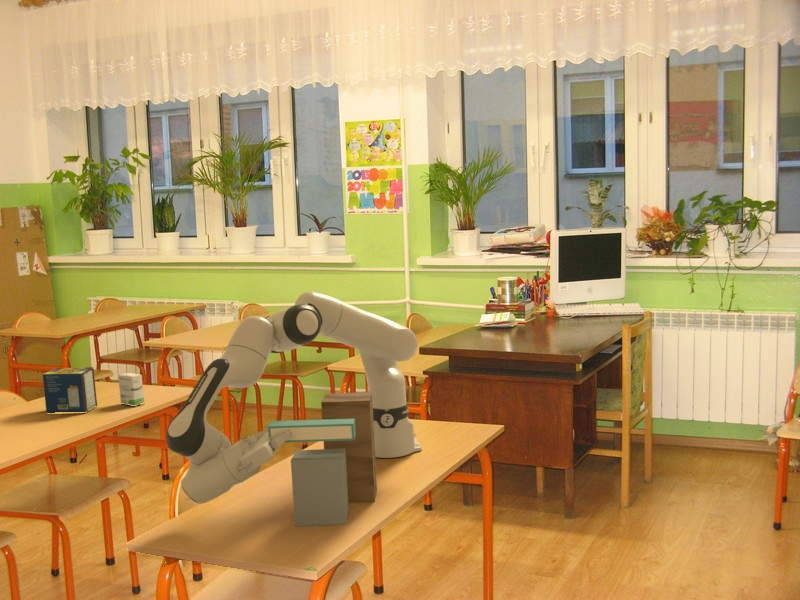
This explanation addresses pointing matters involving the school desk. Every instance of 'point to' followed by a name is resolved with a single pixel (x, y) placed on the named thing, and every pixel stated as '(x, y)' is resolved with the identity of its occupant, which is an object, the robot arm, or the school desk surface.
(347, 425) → the book
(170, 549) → the school desk surface
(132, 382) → the ink box
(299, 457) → the step
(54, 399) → the protein box
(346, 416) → the bookcase block
